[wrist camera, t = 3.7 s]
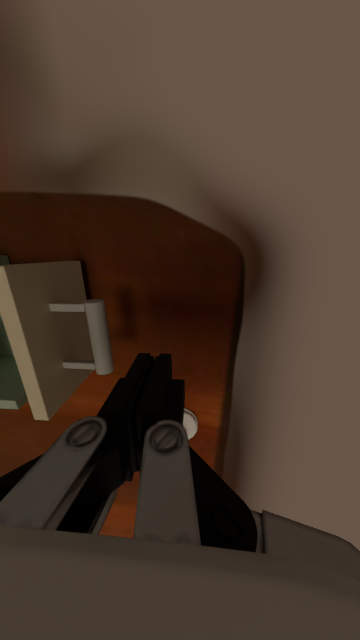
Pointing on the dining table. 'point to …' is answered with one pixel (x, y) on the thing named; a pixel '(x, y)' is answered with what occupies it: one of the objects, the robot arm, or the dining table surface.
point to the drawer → (48, 335)
